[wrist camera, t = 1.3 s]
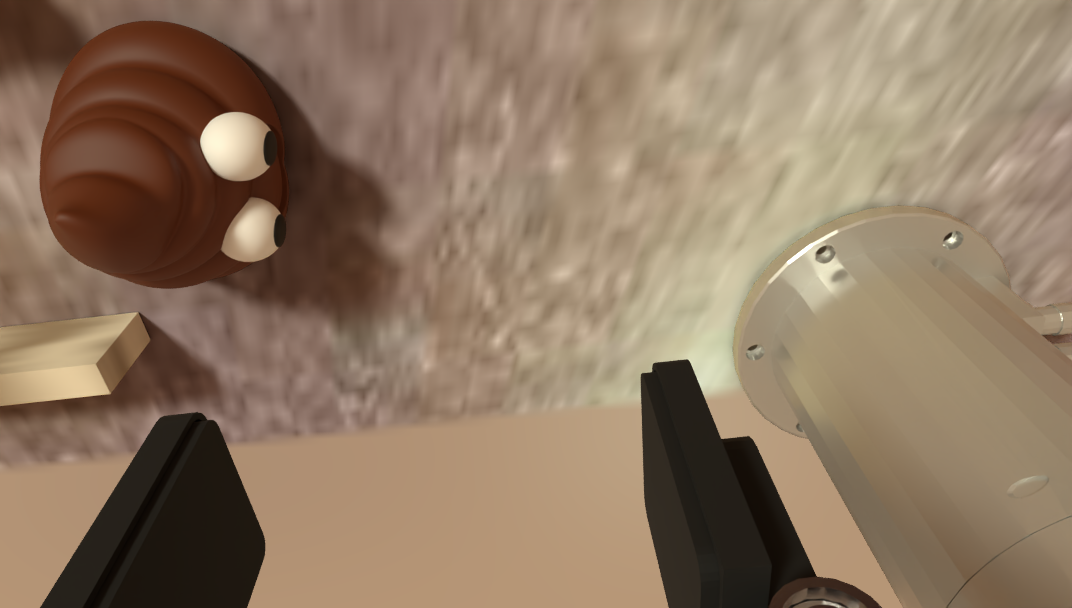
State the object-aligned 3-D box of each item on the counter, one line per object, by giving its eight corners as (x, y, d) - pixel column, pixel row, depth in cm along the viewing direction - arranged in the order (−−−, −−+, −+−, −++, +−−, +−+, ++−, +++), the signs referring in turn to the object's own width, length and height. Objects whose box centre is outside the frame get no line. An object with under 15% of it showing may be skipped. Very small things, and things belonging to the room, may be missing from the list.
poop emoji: (49, 8, 26) (-151, 65, 18) (292, 23, 27) (205, 86, 19) (111, 257, 31) (-23, 389, 23) (315, 265, 32) (254, 396, 24)
